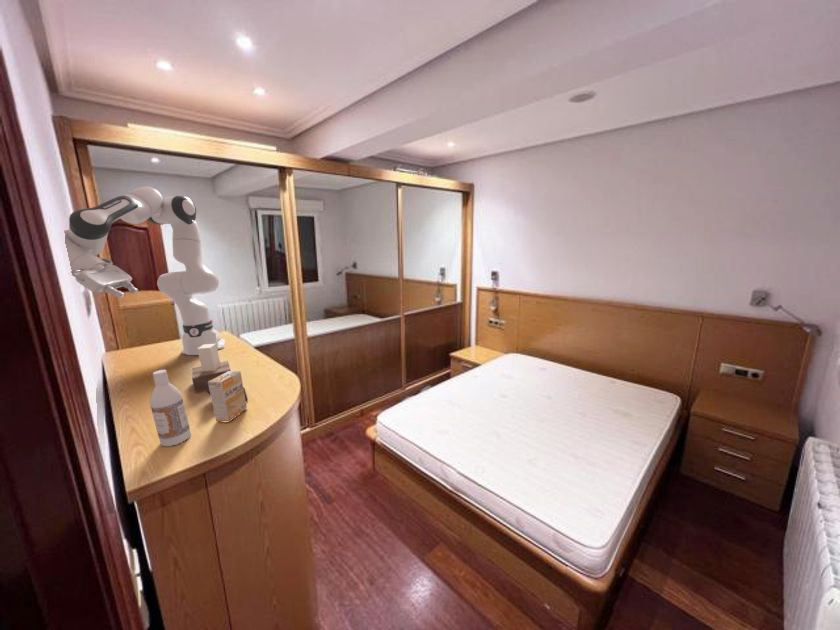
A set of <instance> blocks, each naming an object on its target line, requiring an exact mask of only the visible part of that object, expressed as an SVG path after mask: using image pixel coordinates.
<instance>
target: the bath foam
mask: <svg viewBox="0 0 840 630" xmlns="http://www.w3.org/2000/svg"><path fill="white" fill-rule="evenodd" d="M152 377H153V380H154V381H153V382H154V384H155V387H154V389H153V390H152V392H151V393H152V394H151V395H150V399H149V400H150V401H149V402H150V403H149V404H150V405H149V406H150V409H151V413H152V417H153V421H154V425H155V427H156V432H157V436H158V439H159V444H160V445H161V446H163V447H174V446H177V445H180V444H183V443H184V442H185V440H186V439H187V440H188V439H189V438H190V437H191V434H192V433H191V432H192V431H191V428H190V424H189V419H188V415H187V411H186V407H185V402H184V399H183V395H182V393H181V391H180V390H179V389H178V387H176V386H175V385H173V384H172V383H171V382H170V381H169V375H168V372H167V370H166V369H160V370H156V371H154V372H153V373H152ZM187 440H186V441H187ZM183 441H184V442H183ZM179 443H180V444H179ZM173 445H174V446H173Z"/></svg>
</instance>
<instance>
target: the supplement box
mask: <svg viewBox="0 0 840 630" xmlns="http://www.w3.org/2000/svg"><path fill="white" fill-rule="evenodd" d="M208 385H209V390H210V394H209V396H210V398H211V404H212V408H213V412H214V417H215V422H216V421H230V420H231V419H232V418H234V417H235V416H237V415H238V414H239V413H241V412H242V411H244V410H245V409H246V408H247V409H248V407H247V402H246V400H245V394H244V389H243V387H244V386H243V385H244V384H243V378H242V371H241V370H231V371H227V372H225V373H224V374H222V375H220V376H218V377H216V378H214V379H212V380H210V381H208ZM245 411H246V410H245ZM245 411H244V412H245ZM242 413H243V412H242ZM242 413H241V414H242ZM239 415H240V414H239ZM239 415H238V416H239ZM238 416H237V417H238ZM235 418H236V417H235ZM235 418H234V419H235ZM230 422H231V421H230Z"/></svg>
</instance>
